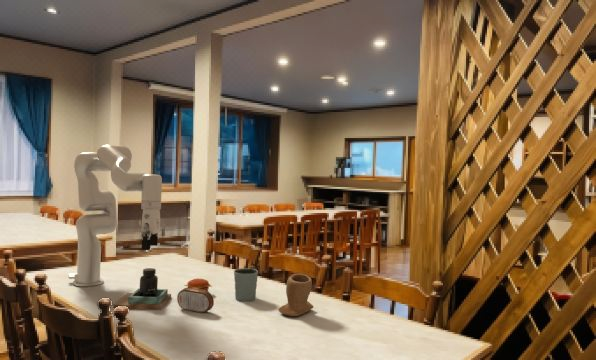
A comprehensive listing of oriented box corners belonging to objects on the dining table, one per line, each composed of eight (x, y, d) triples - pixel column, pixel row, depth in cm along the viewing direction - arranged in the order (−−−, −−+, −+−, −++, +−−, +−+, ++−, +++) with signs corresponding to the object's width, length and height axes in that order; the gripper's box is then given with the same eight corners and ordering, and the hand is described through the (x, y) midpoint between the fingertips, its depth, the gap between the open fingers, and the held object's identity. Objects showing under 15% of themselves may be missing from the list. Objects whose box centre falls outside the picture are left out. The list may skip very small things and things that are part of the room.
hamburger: (196, 298, 181) (196, 283, 181) (182, 294, 187) (182, 279, 187) (213, 294, 188) (214, 279, 188) (200, 290, 194) (200, 275, 194)
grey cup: (261, 297, 186) (262, 270, 186) (249, 303, 177) (250, 274, 177) (241, 294, 190) (242, 267, 190) (228, 299, 181) (229, 271, 181)
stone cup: (299, 321, 159) (300, 281, 158) (274, 314, 166) (275, 275, 165) (321, 311, 171) (322, 273, 171) (297, 305, 178) (298, 269, 178)
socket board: (112, 308, 164) (113, 298, 164) (127, 296, 180) (127, 286, 180) (160, 309, 165) (160, 299, 165) (171, 297, 181) (171, 288, 181)
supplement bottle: (151, 302, 169) (152, 271, 169) (135, 300, 170) (136, 270, 170) (160, 297, 176) (161, 268, 176) (145, 295, 177) (146, 266, 177)
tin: (213, 312, 165) (214, 290, 165) (209, 315, 162) (210, 292, 162) (180, 307, 170) (181, 285, 170) (175, 309, 167) (176, 287, 167)
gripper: (154, 207, 164) (152, 252, 164) (166, 203, 181) (164, 244, 182) (134, 206, 164) (132, 251, 164) (148, 203, 181) (146, 243, 181)
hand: (149, 247), depth 173 cm, fingers open, 9 cm apart
